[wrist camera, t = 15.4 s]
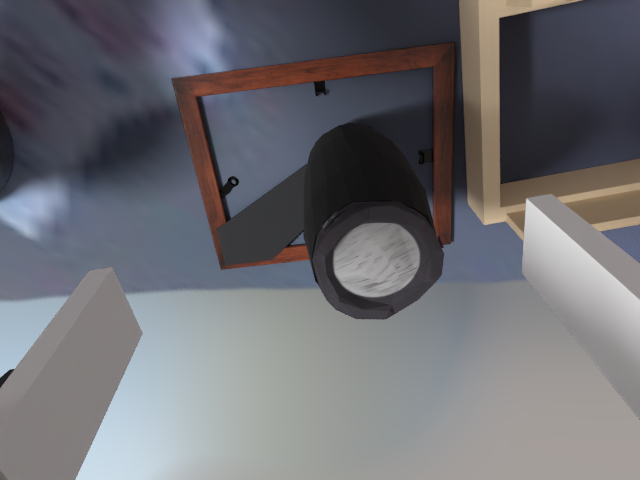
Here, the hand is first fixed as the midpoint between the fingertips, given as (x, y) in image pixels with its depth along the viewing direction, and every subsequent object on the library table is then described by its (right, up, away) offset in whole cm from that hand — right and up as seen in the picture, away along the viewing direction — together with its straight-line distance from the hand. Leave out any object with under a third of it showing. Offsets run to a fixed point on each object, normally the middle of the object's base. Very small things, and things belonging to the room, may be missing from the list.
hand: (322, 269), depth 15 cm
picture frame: (0, +9, +32) cm, 33 cm away
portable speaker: (+3, +9, +29) cm, 31 cm away
